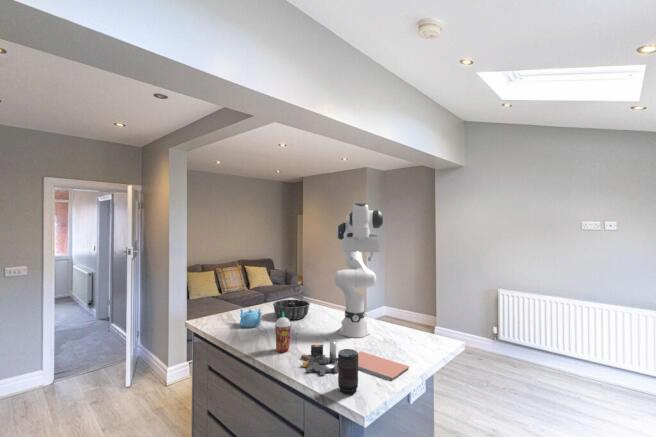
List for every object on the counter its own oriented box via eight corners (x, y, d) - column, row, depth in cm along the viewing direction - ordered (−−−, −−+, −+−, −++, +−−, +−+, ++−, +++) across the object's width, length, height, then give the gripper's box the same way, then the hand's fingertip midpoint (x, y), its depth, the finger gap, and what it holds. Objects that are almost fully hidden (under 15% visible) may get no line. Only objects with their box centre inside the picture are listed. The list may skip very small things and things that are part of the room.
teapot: (237, 329, 203) (238, 313, 204) (239, 322, 218) (239, 307, 218) (261, 328, 207) (262, 312, 207) (261, 321, 221) (261, 306, 221)
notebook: (340, 364, 154) (340, 360, 154) (360, 354, 167) (360, 350, 167) (391, 383, 136) (391, 378, 136) (409, 370, 149) (409, 365, 149)
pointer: (301, 358, 160) (301, 355, 160) (304, 357, 161) (304, 354, 161) (306, 360, 157) (306, 357, 157) (309, 359, 158) (309, 356, 158)
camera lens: (333, 389, 130) (334, 351, 130) (349, 383, 134) (349, 347, 135) (346, 398, 123) (346, 357, 123) (362, 392, 128) (362, 353, 128)
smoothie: (273, 348, 172) (273, 310, 172) (288, 347, 175) (289, 309, 175) (276, 354, 164) (277, 314, 164) (292, 352, 167) (293, 313, 167)
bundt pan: (296, 310, 253) (296, 297, 253) (317, 318, 232) (317, 303, 233) (266, 315, 236) (266, 302, 236) (285, 324, 216) (285, 309, 216)
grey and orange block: (311, 354, 165) (311, 344, 165) (322, 354, 165) (323, 344, 165) (310, 356, 162) (311, 346, 162) (322, 357, 162) (323, 346, 162)
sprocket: (304, 357, 160) (304, 336, 160) (341, 358, 160) (341, 336, 160) (301, 374, 141) (301, 350, 141) (343, 375, 141) (344, 350, 142)
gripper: (379, 234, 172) (379, 260, 172) (340, 233, 172) (340, 260, 171) (381, 234, 166) (381, 261, 165) (341, 234, 165) (341, 261, 165)
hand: (360, 260), depth 168 cm, fingers open, 8 cm apart
